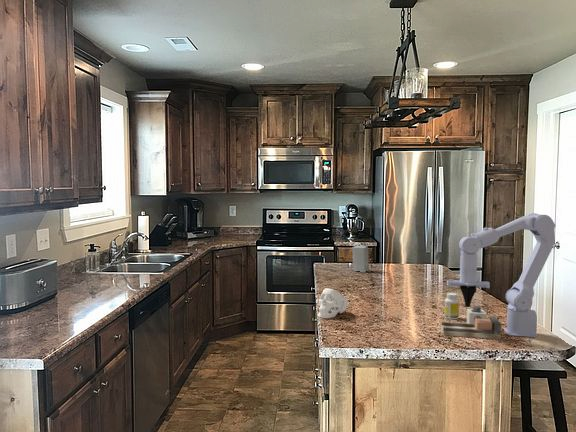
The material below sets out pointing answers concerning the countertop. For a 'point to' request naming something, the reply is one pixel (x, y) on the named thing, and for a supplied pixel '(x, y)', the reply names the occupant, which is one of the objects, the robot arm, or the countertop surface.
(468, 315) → the gauge cabinet
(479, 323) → the block
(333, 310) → the skull bowl
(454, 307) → the supplement bottle
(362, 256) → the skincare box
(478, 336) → the rail bed
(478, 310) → the button
